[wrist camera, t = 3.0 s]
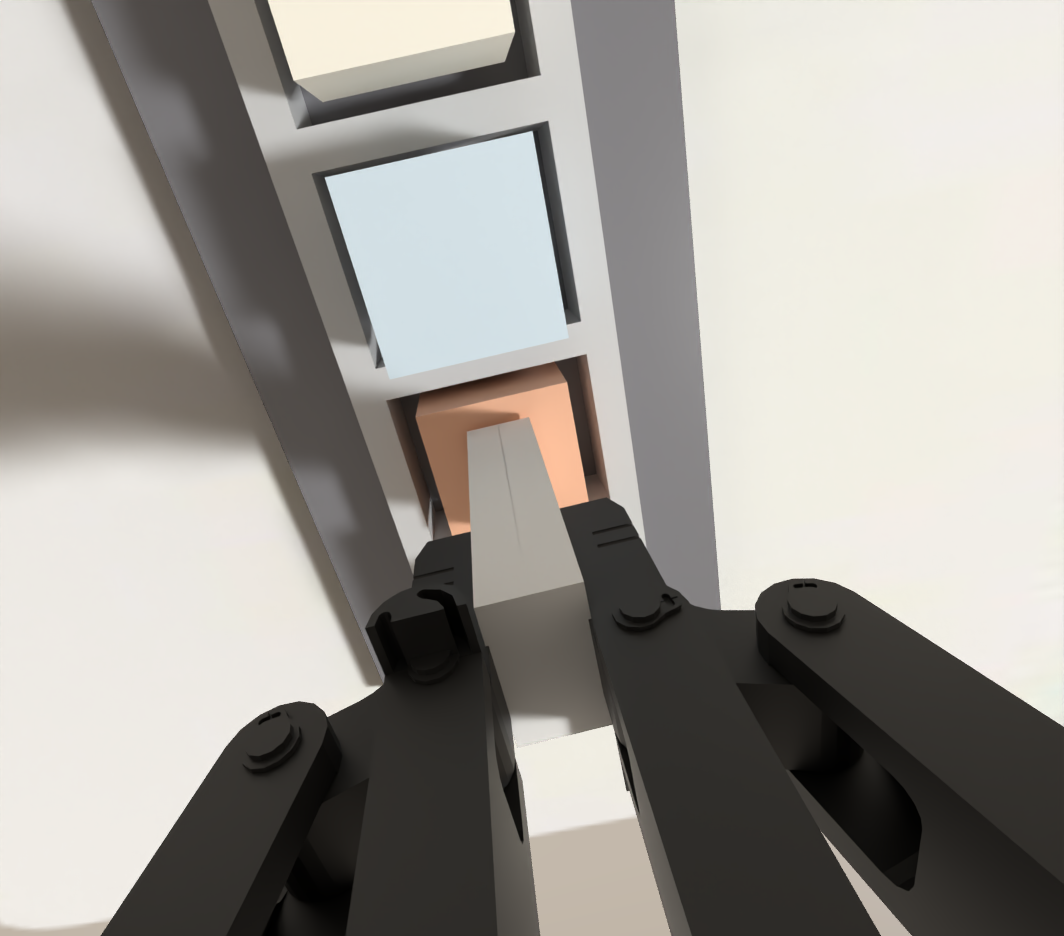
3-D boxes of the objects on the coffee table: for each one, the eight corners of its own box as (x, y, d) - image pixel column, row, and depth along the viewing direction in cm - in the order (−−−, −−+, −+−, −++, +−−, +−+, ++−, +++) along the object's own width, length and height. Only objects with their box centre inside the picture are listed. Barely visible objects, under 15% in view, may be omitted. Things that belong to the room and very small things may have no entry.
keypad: (32, -197, 11) (-100, -321, 9) (628, -320, 12) (680, -480, 9) (398, 686, 22) (390, 755, 19) (709, 611, 22) (744, 668, 19)
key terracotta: (420, 389, 15) (415, 417, 13) (552, 358, 15) (567, 382, 13) (455, 505, 17) (455, 546, 15) (575, 476, 17) (590, 513, 15)
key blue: (347, 181, 12) (324, 177, 10) (519, 142, 12) (532, 131, 10) (399, 353, 13) (389, 379, 11) (552, 318, 13) (568, 338, 11)
